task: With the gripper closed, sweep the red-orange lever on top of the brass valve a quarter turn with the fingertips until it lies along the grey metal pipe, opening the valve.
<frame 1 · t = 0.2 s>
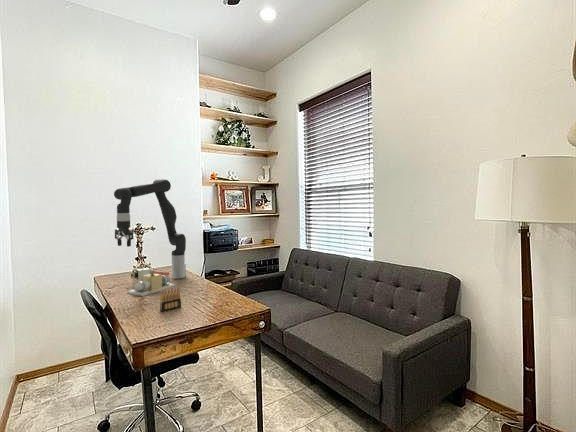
hand: (124, 246, 201), 29 cm above the table, tool pointing down, fingers open, 8 cm apart
valve lever: (159, 272, 204), point 12 cm above the table, hinge at 90.0°
ammunition clip: (170, 310, 167), on the table
valve stand: (152, 289, 207), on the table
pneumatic valve: (143, 284, 220), on the table
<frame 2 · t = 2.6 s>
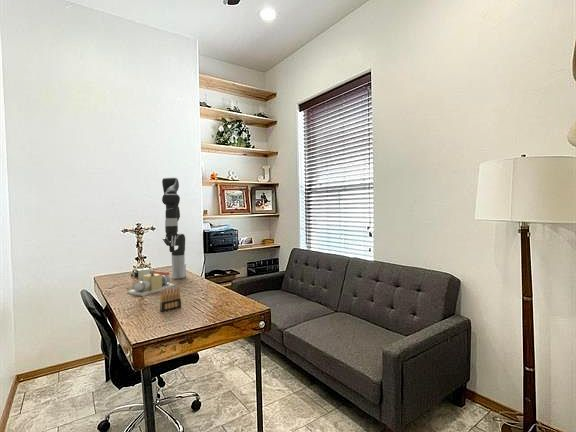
hand: (171, 252, 205), 24 cm above the table, tool pointing down, fingers closed
nothing on the table moved.
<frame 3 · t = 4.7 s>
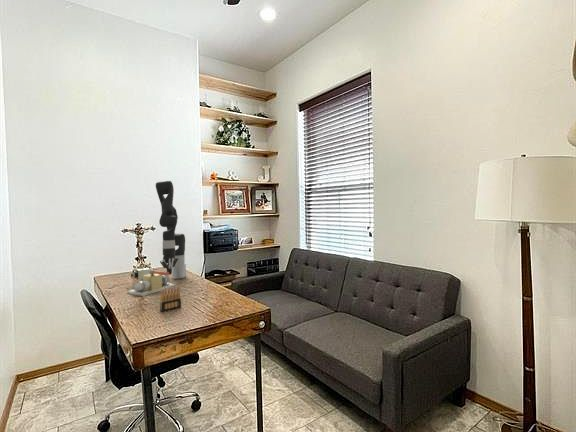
hand: (169, 274, 203), 11 cm above the table, tool pointing down, fingers closed
valve lever: (158, 272, 204), point 12 cm above the table, hinge at 89.9°, touching gripper
everything else where it was.
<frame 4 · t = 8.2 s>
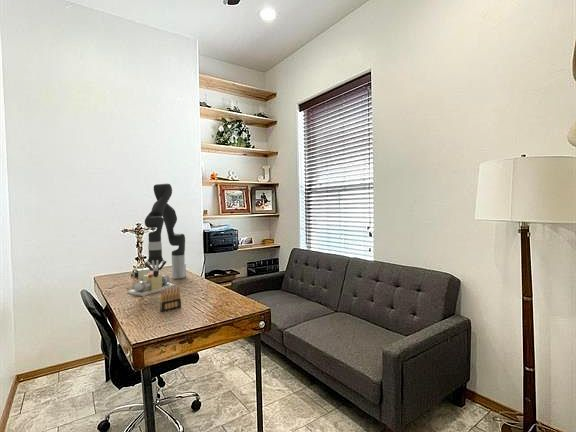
hand: (156, 276, 196), 11 cm above the table, tool pointing down, fingers closed
valve lever: (151, 273, 201), point 12 cm above the table, hinge at 46.3°, touching gripper
everything else where it was.
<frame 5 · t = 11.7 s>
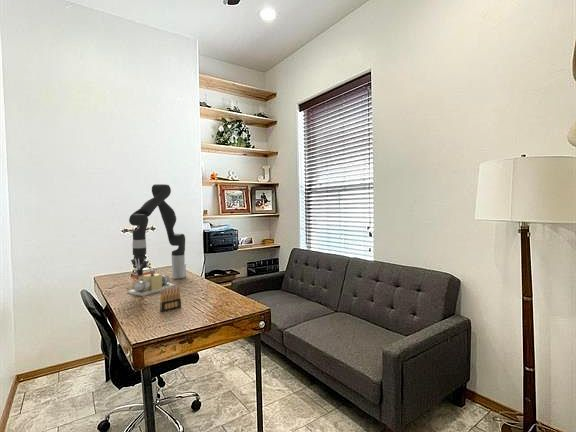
hand: (140, 275, 194), 12 cm above the table, tool pointing down, fingers closed
valve lever: (144, 273, 201), point 12 cm above the table, hinge at 4.8°
everything else where it was.
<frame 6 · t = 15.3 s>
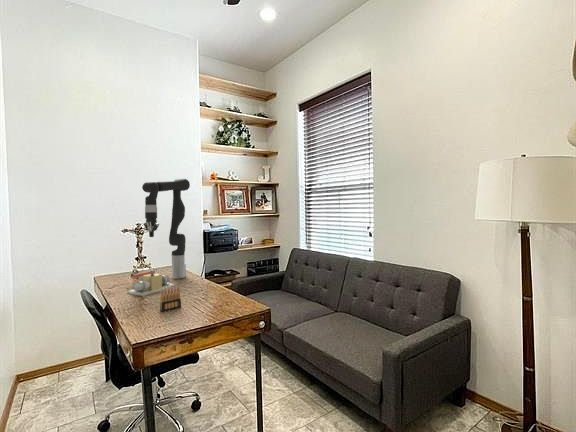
hand: (151, 237, 217), 33 cm above the table, tool pointing down, fingers closed
nothing on the table moved.
at the end: valve lever at +5° (first picture: +90°) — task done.
